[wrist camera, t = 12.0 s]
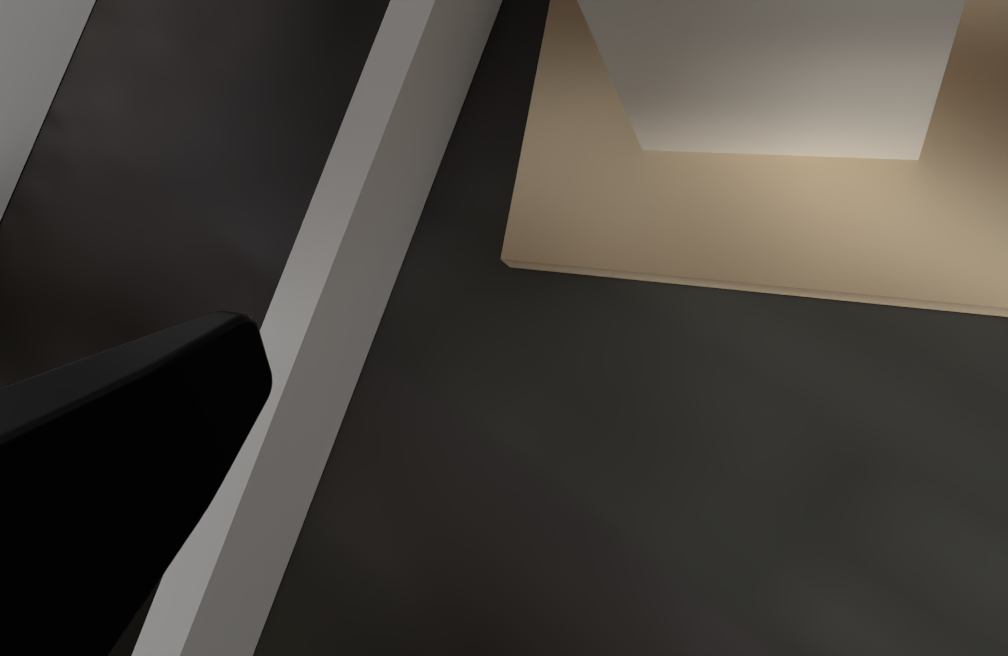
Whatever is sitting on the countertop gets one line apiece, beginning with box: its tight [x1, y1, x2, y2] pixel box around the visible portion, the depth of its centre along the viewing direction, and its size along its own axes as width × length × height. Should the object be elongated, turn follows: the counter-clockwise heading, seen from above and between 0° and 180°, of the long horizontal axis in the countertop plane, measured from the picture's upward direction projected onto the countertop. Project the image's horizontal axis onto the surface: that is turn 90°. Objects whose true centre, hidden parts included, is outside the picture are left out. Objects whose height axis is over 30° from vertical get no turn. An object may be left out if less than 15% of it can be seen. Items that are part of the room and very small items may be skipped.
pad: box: [501, 0, 1008, 317], centre depth 17 cm, size 10×10×1 cm
